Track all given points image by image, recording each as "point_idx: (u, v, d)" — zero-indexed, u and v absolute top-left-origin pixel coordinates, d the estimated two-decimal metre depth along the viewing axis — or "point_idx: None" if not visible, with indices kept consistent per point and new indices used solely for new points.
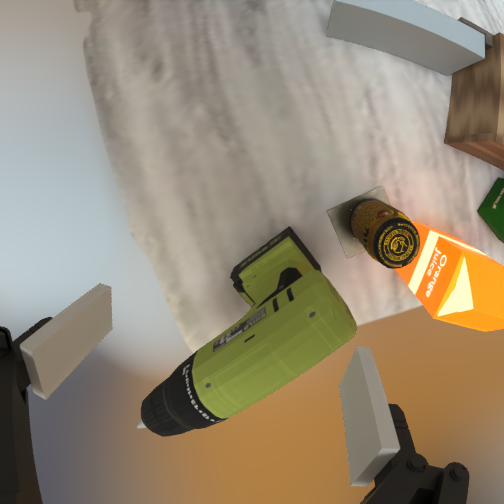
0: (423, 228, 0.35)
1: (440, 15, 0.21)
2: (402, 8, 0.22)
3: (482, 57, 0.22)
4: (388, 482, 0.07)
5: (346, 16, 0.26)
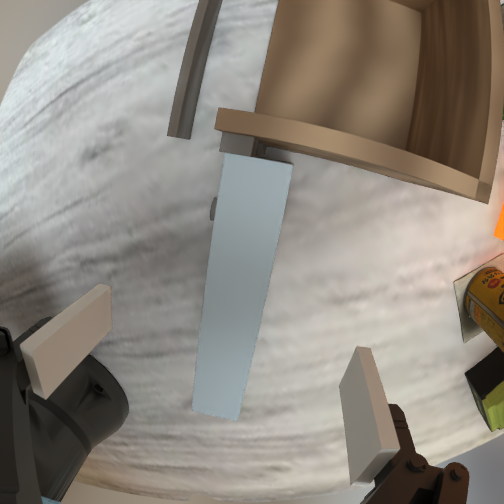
0: None
1: (216, 268, 0.17)
2: (227, 342, 0.18)
3: (291, 170, 0.15)
4: (388, 482, 0.07)
5: None
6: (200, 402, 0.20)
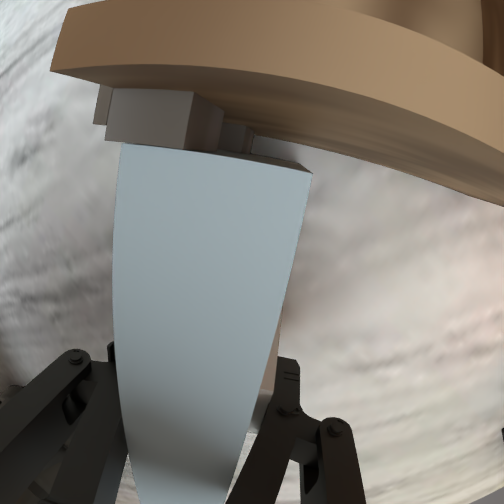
0: None
1: (136, 401, 0.07)
2: (178, 488, 0.08)
3: None
4: (264, 431, 0.09)
5: None
6: None
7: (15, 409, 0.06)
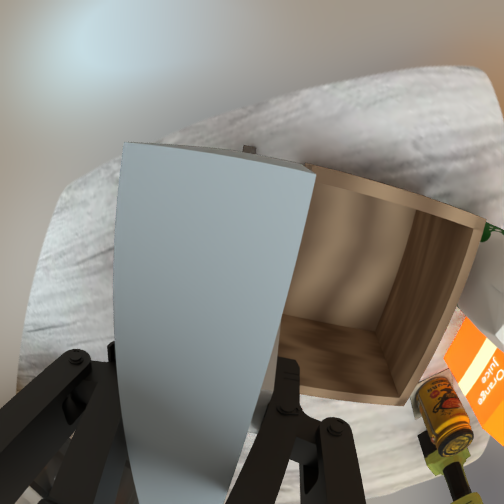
0: (454, 374, 0.32)
1: (137, 401, 0.07)
2: (178, 488, 0.08)
3: (310, 188, 0.05)
4: (263, 431, 0.09)
5: None
6: None
7: (15, 409, 0.06)
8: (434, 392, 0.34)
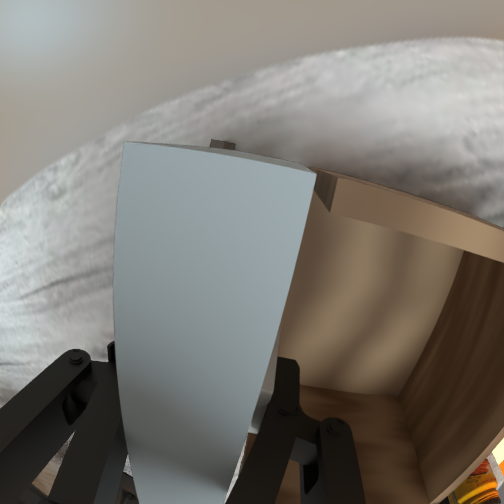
0: None
1: (136, 401, 0.07)
2: (178, 488, 0.08)
3: (311, 188, 0.05)
4: (263, 431, 0.09)
5: None
6: None
7: (15, 409, 0.06)
8: None
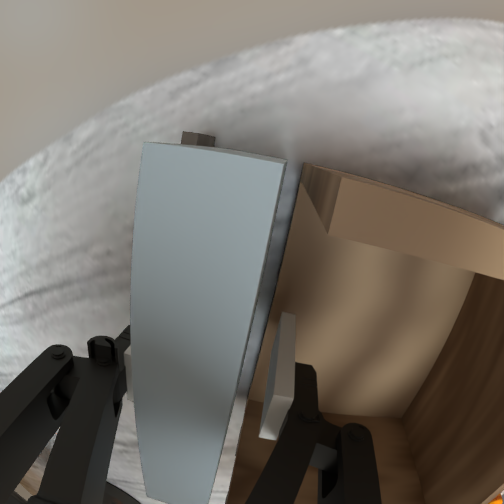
0: None
1: (145, 354, 0.09)
2: (178, 446, 0.10)
3: (280, 174, 0.07)
4: (284, 437, 0.09)
5: None
6: (155, 492, 0.12)
7: (2, 405, 0.06)
8: None
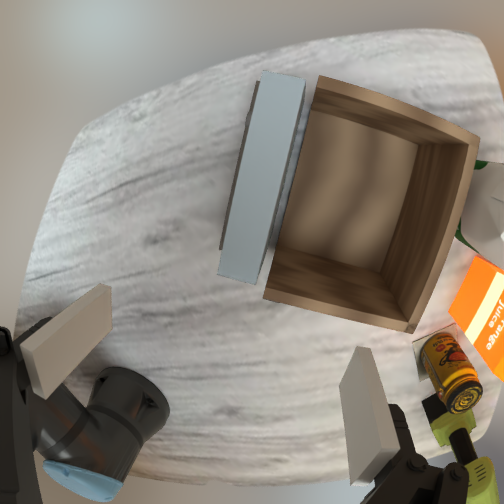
0: (459, 325, 0.33)
1: (252, 143, 0.24)
2: (254, 201, 0.25)
3: (304, 82, 0.22)
4: (388, 482, 0.07)
5: (263, 257, 0.30)
6: (226, 264, 0.27)
7: None
8: (440, 346, 0.35)
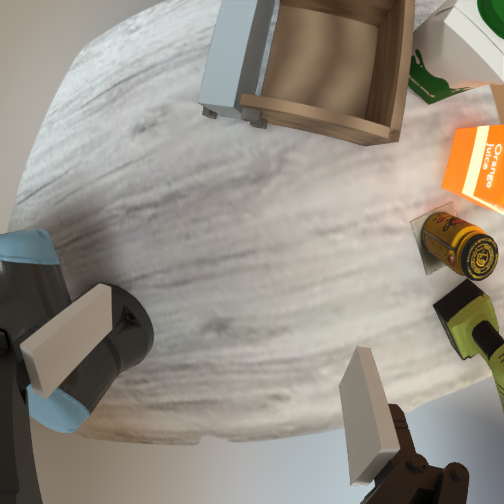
0: (455, 191, 0.32)
1: (227, 0, 0.23)
2: (230, 37, 0.24)
3: None
4: (388, 482, 0.07)
5: None
6: (205, 91, 0.26)
7: None
8: (440, 218, 0.34)
